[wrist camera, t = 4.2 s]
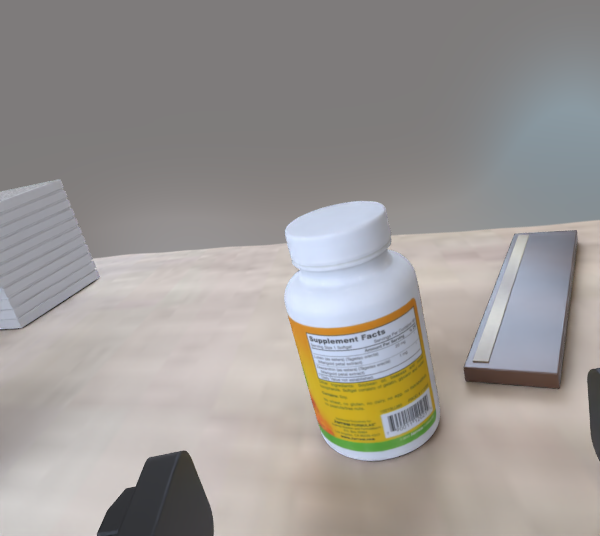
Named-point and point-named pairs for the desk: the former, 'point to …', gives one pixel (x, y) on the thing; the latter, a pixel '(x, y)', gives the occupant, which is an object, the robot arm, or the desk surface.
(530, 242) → the dark brown flat bar
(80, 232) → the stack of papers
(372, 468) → the desk surface
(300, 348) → the supplement bottle
